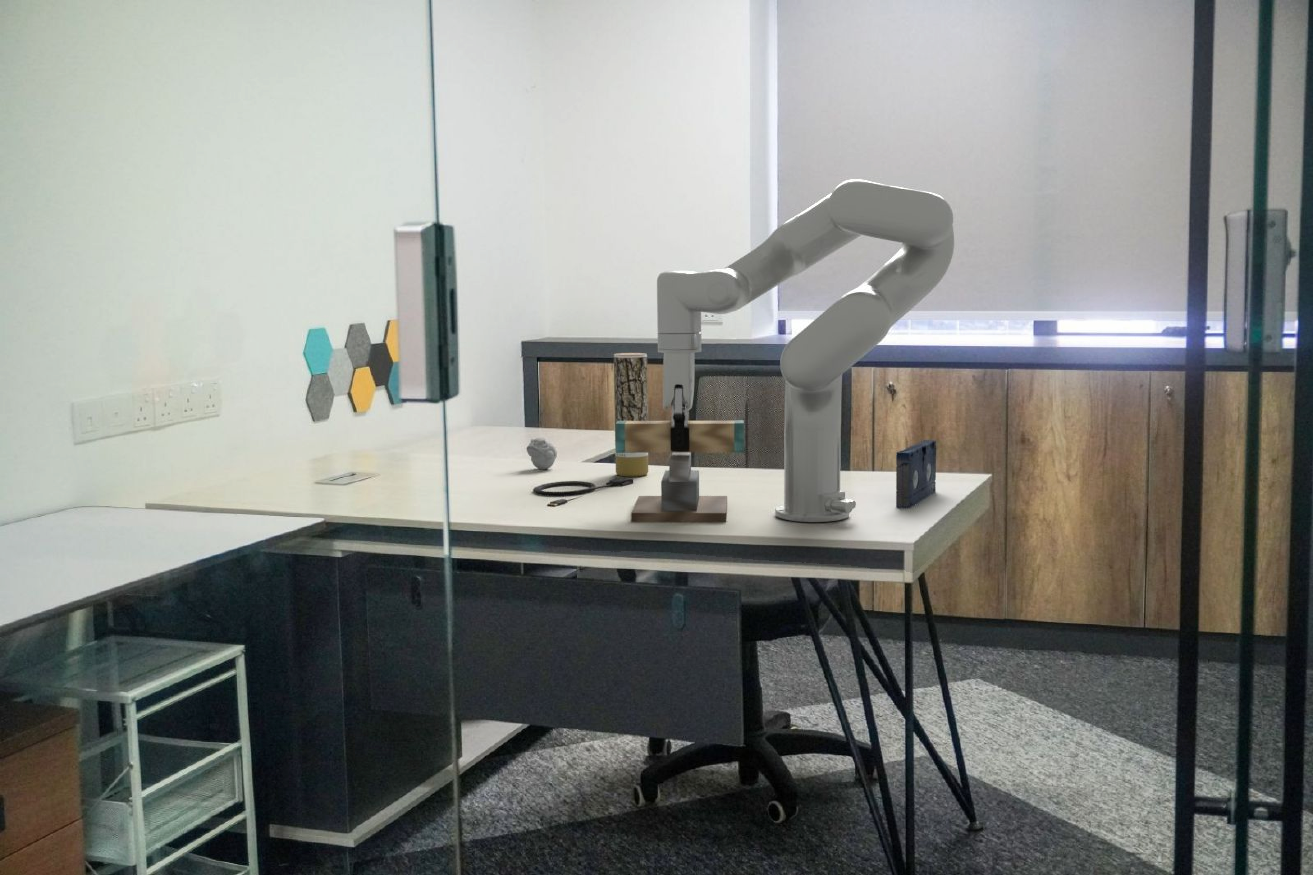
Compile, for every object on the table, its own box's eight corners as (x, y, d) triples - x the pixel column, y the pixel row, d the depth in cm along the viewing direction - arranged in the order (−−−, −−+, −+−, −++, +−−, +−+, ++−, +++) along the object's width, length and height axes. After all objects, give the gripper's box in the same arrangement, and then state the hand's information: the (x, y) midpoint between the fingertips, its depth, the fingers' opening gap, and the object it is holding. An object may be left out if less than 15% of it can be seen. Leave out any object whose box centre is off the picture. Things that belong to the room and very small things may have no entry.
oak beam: (743, 449, 221) (743, 420, 220) (743, 452, 217) (743, 423, 216) (618, 449, 222) (617, 420, 222) (615, 452, 218) (615, 423, 218)
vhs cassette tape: (923, 491, 240) (923, 439, 238) (938, 492, 238) (939, 440, 237) (892, 508, 224) (893, 452, 222) (909, 509, 222) (909, 453, 221)
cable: (495, 503, 235) (495, 495, 235) (578, 480, 259) (578, 473, 259) (555, 509, 228) (555, 501, 228) (635, 485, 252) (635, 478, 252)
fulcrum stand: (727, 504, 228) (727, 449, 227) (726, 521, 213) (725, 463, 211) (638, 504, 230) (638, 449, 228) (631, 521, 214) (630, 463, 212)
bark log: (644, 477, 258) (643, 355, 254) (612, 477, 259) (610, 355, 256) (651, 472, 264) (650, 353, 261) (619, 471, 266) (618, 352, 262)
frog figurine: (520, 470, 269) (519, 437, 268) (544, 466, 275) (543, 434, 274) (540, 473, 265) (540, 440, 264) (564, 468, 271) (563, 436, 270)
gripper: (660, 340, 226) (662, 442, 228) (654, 346, 209) (655, 456, 212) (702, 340, 225) (703, 442, 228) (699, 346, 209) (700, 456, 211)
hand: (680, 447), depth 220 cm, fingers closed on oak beam, 4 cm apart
